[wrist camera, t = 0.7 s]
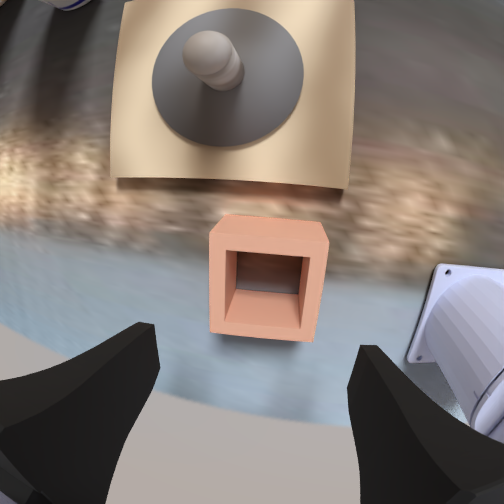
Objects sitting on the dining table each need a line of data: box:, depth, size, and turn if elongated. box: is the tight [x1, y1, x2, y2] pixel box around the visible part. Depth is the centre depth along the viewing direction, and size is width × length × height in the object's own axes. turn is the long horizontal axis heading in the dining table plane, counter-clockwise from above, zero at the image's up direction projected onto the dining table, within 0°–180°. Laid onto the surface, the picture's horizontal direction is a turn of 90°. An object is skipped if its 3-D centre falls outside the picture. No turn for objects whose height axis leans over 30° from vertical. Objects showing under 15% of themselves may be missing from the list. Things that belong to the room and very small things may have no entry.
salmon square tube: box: [209, 214, 329, 342], centre depth 17 cm, size 6×6×4 cm
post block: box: [110, 0, 355, 189], centre depth 13 cm, size 14×12×6 cm
